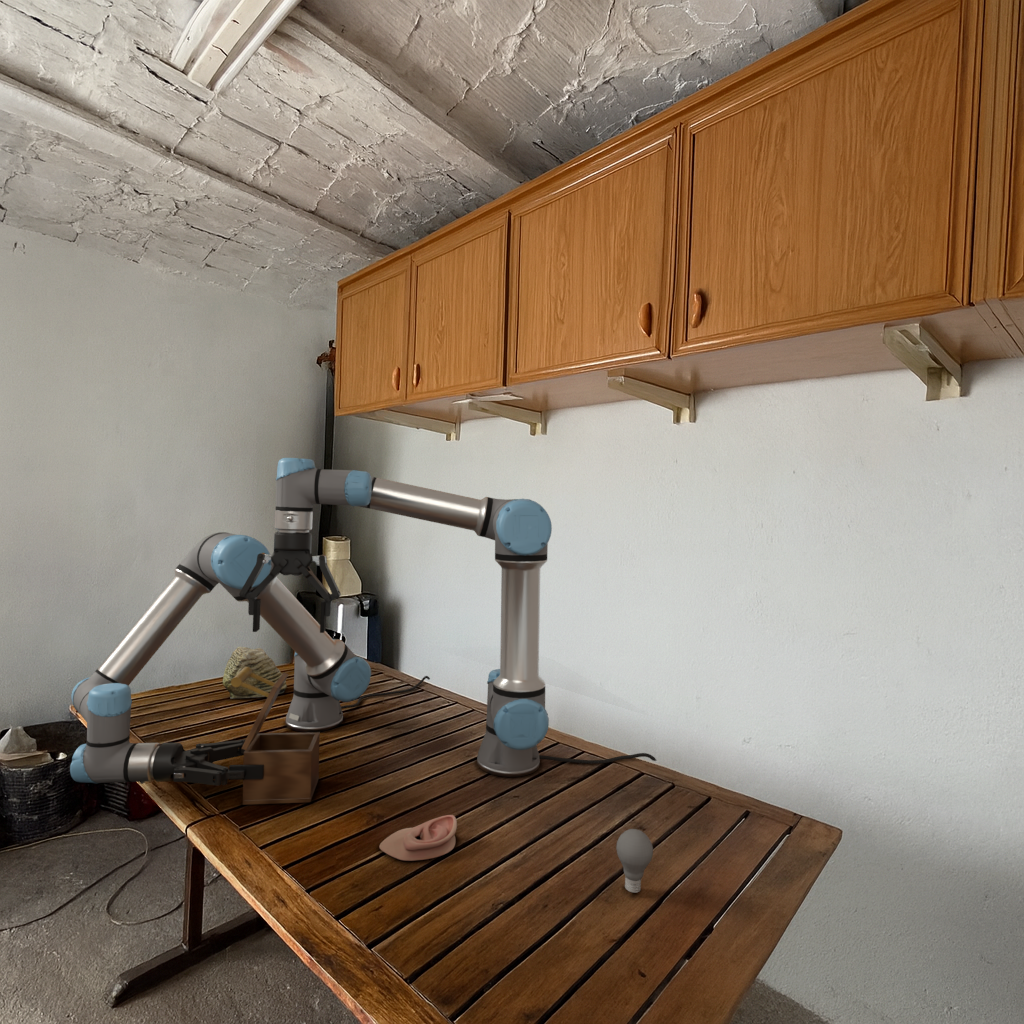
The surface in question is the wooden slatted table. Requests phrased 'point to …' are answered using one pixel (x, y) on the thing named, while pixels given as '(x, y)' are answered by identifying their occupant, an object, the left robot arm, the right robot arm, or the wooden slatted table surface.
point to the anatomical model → (422, 840)
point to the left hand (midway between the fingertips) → (269, 760)
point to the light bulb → (634, 857)
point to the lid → (271, 696)
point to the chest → (283, 768)
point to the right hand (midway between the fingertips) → (289, 631)
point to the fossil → (258, 665)
